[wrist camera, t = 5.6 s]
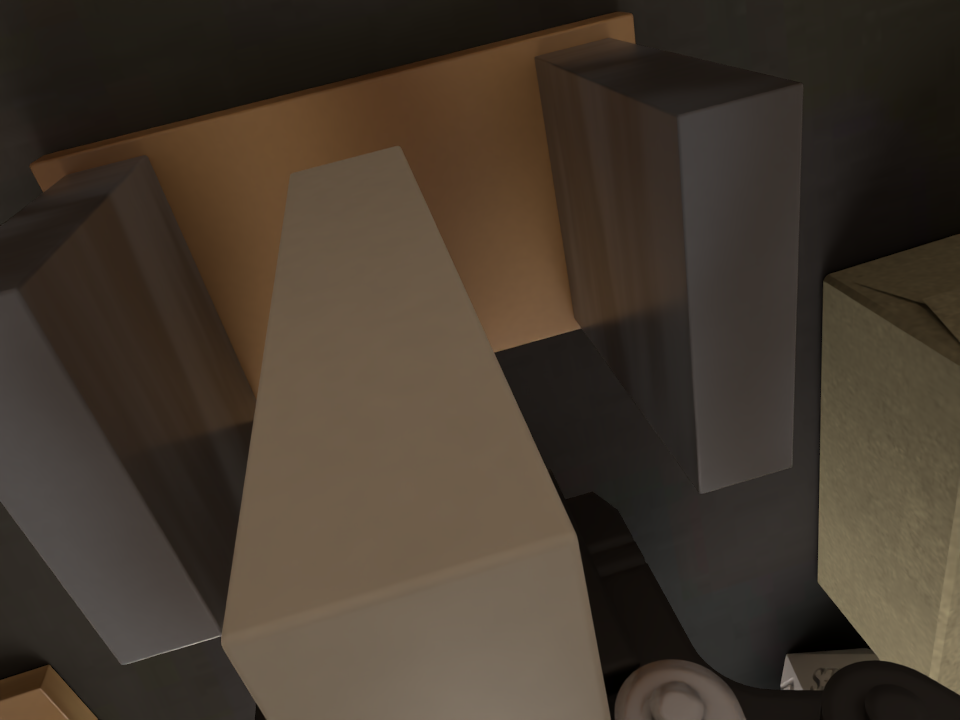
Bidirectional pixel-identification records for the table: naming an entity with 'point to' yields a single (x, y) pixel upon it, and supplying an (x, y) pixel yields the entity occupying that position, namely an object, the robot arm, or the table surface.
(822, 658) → the die
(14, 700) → the cream book rack
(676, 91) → the grey book rack
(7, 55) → the table surface
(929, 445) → the tissue box
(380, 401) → the cream book
